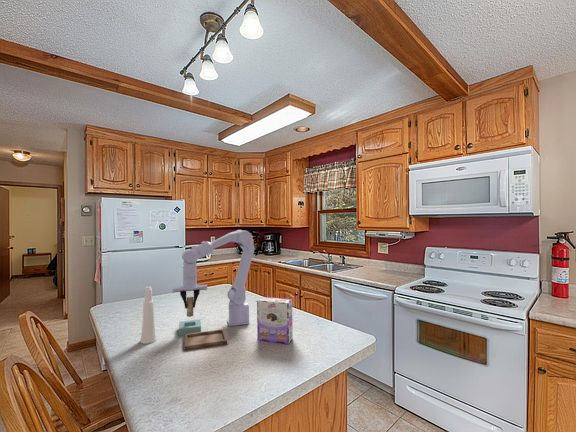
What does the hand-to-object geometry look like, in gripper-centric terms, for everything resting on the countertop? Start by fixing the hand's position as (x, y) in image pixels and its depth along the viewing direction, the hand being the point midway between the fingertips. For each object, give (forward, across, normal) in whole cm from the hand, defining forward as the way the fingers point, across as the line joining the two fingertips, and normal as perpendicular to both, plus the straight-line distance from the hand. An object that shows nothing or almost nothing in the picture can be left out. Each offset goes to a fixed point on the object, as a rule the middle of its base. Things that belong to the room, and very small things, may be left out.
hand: (190, 307), depth 125 cm
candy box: (+11, -33, +21) cm, 41 cm away
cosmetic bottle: (+11, +16, +5) cm, 20 cm away
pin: (+4, 0, 0) cm, 4 cm away
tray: (+10, -6, +13) cm, 18 cm away
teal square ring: (+10, 0, 0) cm, 10 cm away
